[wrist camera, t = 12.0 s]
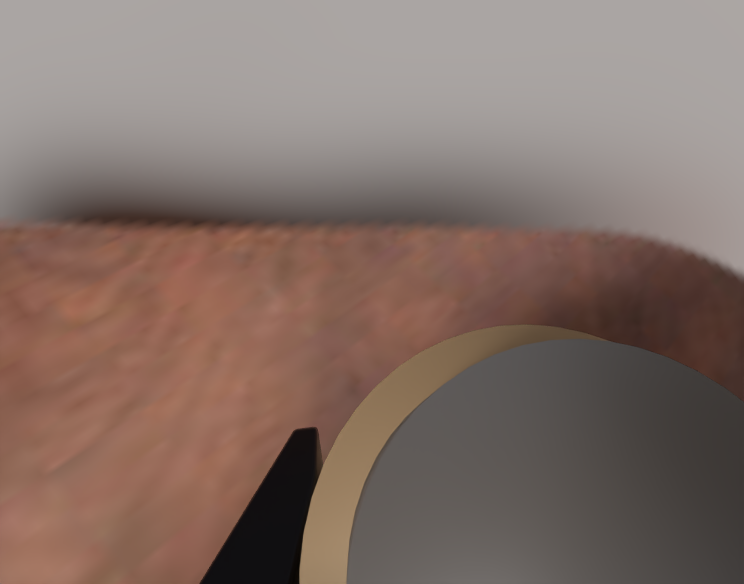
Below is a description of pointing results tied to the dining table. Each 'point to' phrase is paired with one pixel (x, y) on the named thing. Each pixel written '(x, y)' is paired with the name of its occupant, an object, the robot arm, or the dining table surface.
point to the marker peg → (533, 469)
